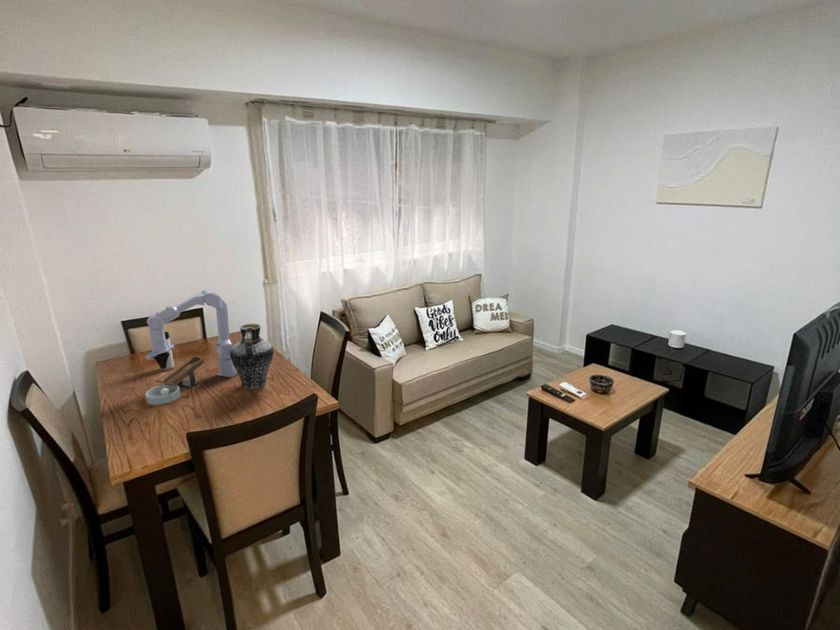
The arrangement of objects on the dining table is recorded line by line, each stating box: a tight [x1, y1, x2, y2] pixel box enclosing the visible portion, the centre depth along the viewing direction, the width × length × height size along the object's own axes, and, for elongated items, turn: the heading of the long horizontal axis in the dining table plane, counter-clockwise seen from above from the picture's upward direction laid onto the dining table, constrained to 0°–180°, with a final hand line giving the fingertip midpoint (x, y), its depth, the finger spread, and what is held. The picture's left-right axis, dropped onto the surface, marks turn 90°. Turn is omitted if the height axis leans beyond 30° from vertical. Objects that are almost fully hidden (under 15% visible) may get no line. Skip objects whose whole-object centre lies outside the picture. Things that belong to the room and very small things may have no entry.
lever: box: [154, 355, 205, 386], centre depth 215 cm, size 12×20×4 cm, turn 164°
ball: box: [161, 388, 169, 396], centre depth 204 cm, size 4×4×4 cm
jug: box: [230, 323, 274, 390], centre depth 212 cm, size 21×19×30 cm
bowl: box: [144, 384, 182, 406], centre depth 203 cm, size 13×13×4 cm
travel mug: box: [160, 331, 175, 372], centre depth 232 cm, size 6×7×20 cm
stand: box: [177, 371, 200, 389], centre depth 216 cm, size 10×5×7 cm, turn 74°
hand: (163, 368), depth 210 cm, fingers closed
